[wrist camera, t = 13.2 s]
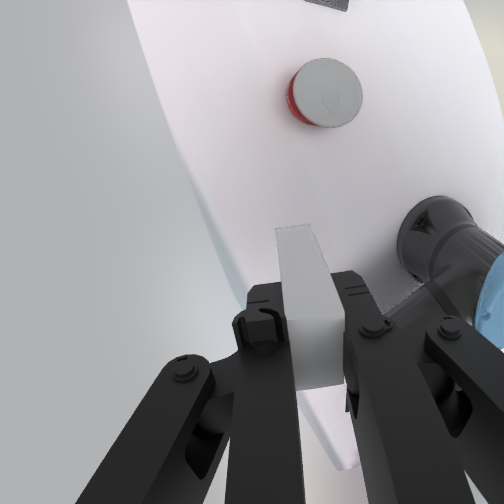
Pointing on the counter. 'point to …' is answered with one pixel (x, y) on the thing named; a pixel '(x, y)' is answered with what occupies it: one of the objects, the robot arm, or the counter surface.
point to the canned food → (325, 93)
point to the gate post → (332, 3)
